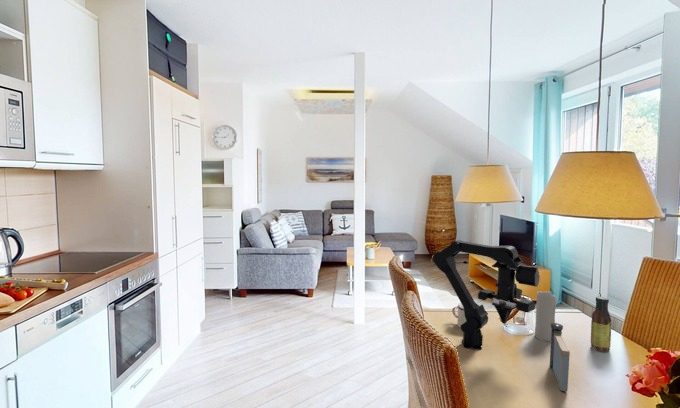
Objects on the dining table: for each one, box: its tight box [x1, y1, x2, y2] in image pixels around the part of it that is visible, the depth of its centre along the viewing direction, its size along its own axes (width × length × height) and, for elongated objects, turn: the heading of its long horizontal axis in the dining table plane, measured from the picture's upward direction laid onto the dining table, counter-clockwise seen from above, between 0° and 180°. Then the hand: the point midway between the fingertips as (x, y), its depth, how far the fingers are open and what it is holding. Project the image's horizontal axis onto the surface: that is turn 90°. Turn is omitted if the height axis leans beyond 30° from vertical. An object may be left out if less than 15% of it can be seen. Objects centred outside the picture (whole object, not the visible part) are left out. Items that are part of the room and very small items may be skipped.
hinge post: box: [549, 322, 564, 370], centre depth 126 cm, size 4×4×15 cm
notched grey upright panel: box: [534, 290, 558, 342], centre depth 153 cm, size 7×14×20 cm, turn 124°
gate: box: [552, 333, 571, 392], centre depth 118 cm, size 14×2×12 cm, turn 158°
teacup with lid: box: [451, 302, 466, 329], centre depth 162 cm, size 12×9×12 cm
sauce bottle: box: [590, 296, 612, 353], centre depth 141 cm, size 6×6×20 cm
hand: (504, 323), depth 134 cm, fingers closed
